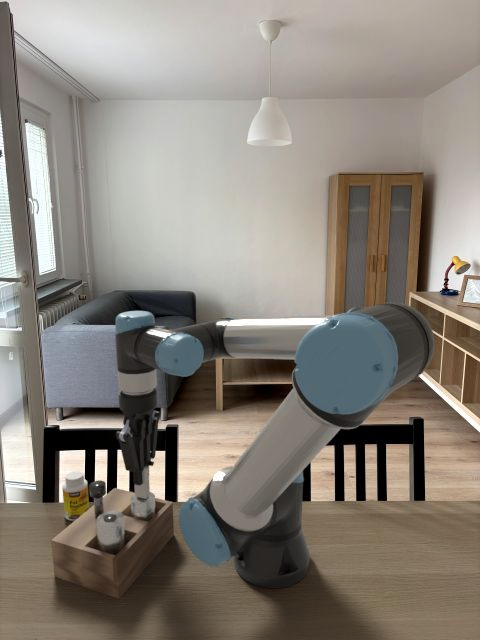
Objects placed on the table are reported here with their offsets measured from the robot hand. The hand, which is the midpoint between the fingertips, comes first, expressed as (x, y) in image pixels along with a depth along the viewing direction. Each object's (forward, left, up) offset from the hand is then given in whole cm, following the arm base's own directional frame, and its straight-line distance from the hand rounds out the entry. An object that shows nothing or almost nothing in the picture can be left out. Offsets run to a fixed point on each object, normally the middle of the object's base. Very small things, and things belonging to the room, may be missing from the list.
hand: (142, 495), depth 106 cm
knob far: (0, 0, -9) cm, 10 cm away
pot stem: (+7, +6, -3) cm, 9 cm away
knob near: (0, +11, -8) cm, 13 cm away
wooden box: (+3, +6, -11) cm, 13 cm away
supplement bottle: (+20, -2, -11) cm, 23 cm away
